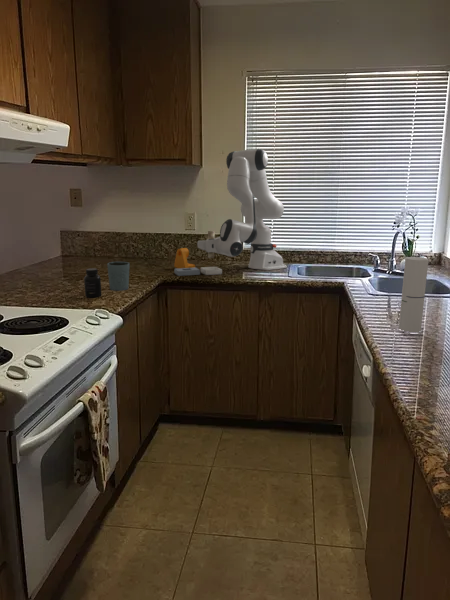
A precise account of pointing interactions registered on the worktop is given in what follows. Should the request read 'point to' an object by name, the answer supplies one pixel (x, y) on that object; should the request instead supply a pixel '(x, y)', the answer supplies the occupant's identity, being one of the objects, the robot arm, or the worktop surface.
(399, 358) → the worktop surface
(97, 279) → the supplement bottle
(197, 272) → the block
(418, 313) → the cylindrical container
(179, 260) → the bracket
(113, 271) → the blue cup
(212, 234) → the dowel
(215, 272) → the tray
